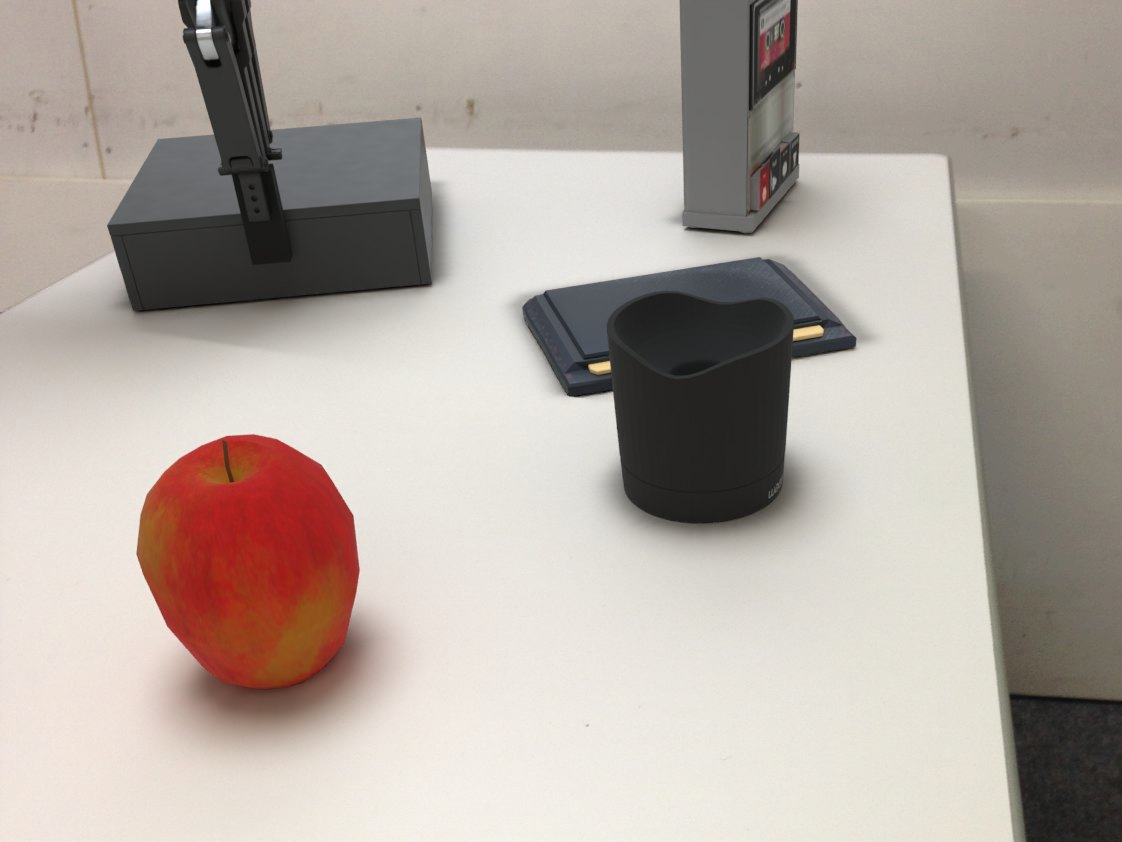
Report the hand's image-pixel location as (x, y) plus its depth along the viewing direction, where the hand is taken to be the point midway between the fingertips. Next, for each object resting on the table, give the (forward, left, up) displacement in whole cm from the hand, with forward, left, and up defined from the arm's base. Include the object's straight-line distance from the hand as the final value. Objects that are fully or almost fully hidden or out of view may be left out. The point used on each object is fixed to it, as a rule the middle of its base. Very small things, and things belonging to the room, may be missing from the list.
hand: (272, 259), depth 93 cm
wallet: (+30, +4, -4) cm, 30 cm away
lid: (-6, +10, -3) cm, 12 cm away
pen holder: (+39, -16, -4) cm, 42 cm away
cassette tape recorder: (+26, +29, -4) cm, 39 cm away
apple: (+26, -37, -4) cm, 45 cm away
